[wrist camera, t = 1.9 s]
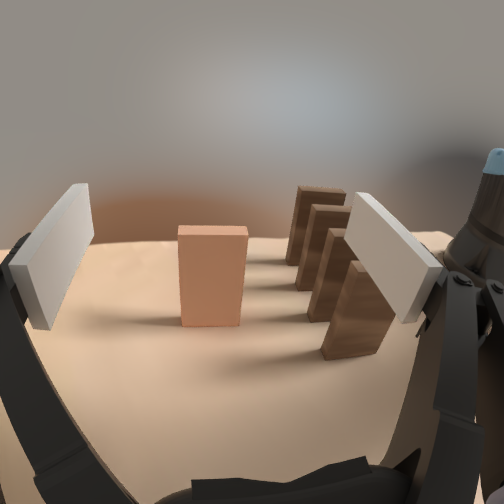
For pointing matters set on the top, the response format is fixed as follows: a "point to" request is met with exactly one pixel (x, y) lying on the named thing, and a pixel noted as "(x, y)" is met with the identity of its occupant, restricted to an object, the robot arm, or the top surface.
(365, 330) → the domino
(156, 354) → the top surface
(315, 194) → the domino
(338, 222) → the domino
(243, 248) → the domino
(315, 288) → the domino
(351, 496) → the robot arm
